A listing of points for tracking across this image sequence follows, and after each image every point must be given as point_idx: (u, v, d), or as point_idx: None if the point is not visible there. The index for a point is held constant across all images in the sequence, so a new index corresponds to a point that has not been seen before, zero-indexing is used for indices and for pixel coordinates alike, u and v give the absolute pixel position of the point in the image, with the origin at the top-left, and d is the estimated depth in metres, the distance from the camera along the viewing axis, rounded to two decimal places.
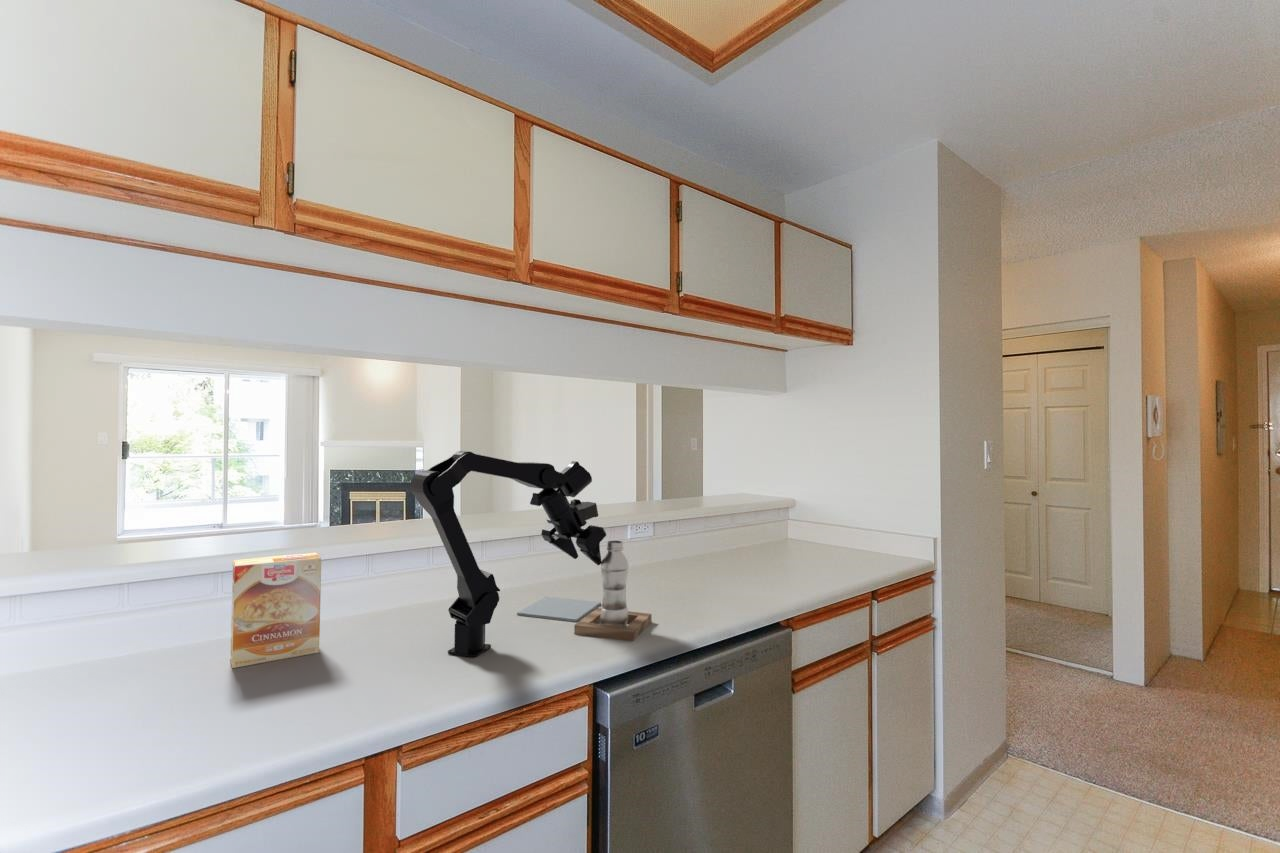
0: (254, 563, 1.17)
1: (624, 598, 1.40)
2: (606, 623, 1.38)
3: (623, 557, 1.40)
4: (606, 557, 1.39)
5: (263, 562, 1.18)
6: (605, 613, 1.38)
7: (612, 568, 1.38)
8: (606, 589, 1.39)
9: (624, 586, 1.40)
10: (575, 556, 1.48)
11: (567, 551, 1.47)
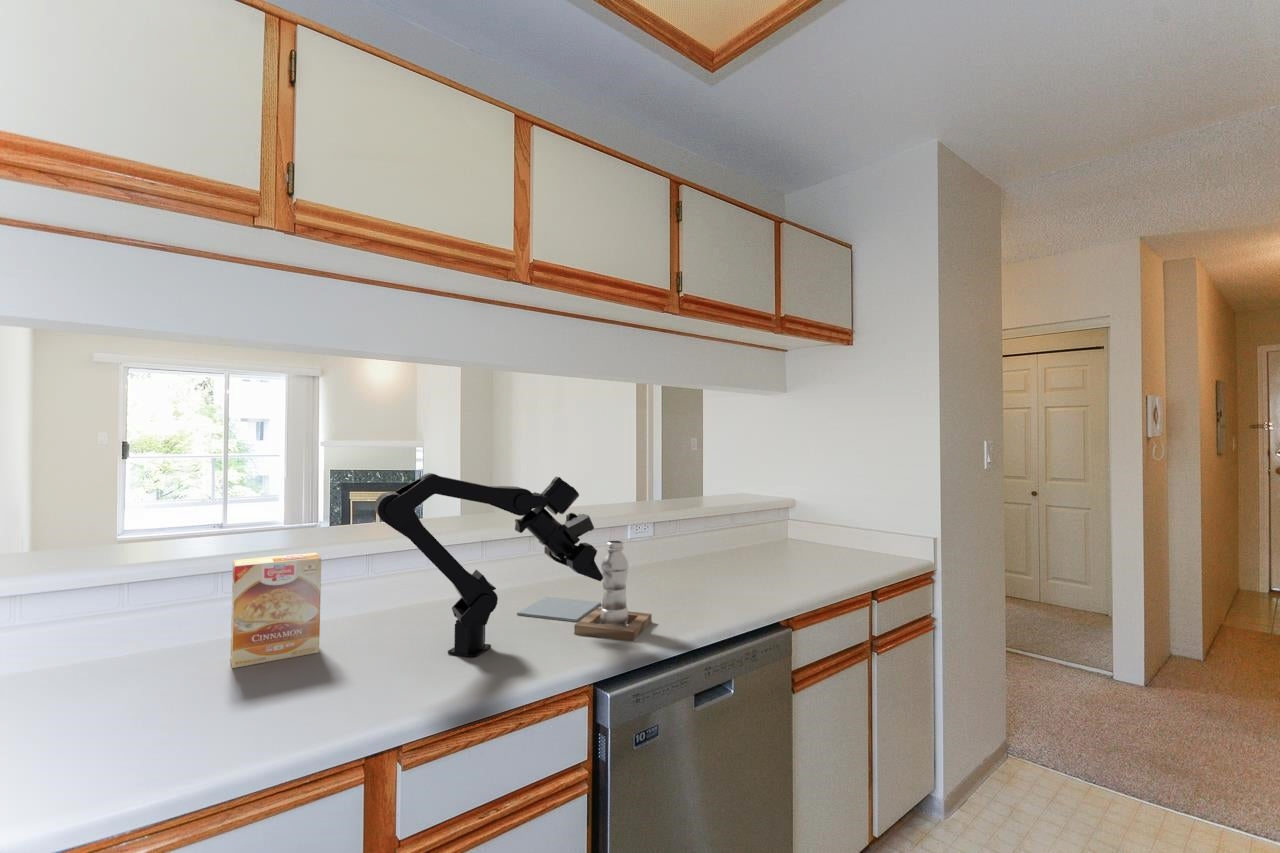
0: (254, 563, 1.17)
1: (624, 598, 1.40)
2: (606, 623, 1.38)
3: (623, 557, 1.40)
4: (606, 557, 1.39)
5: (263, 562, 1.18)
6: (605, 613, 1.38)
7: (612, 568, 1.38)
8: (606, 589, 1.39)
9: (624, 586, 1.40)
10: None
11: None
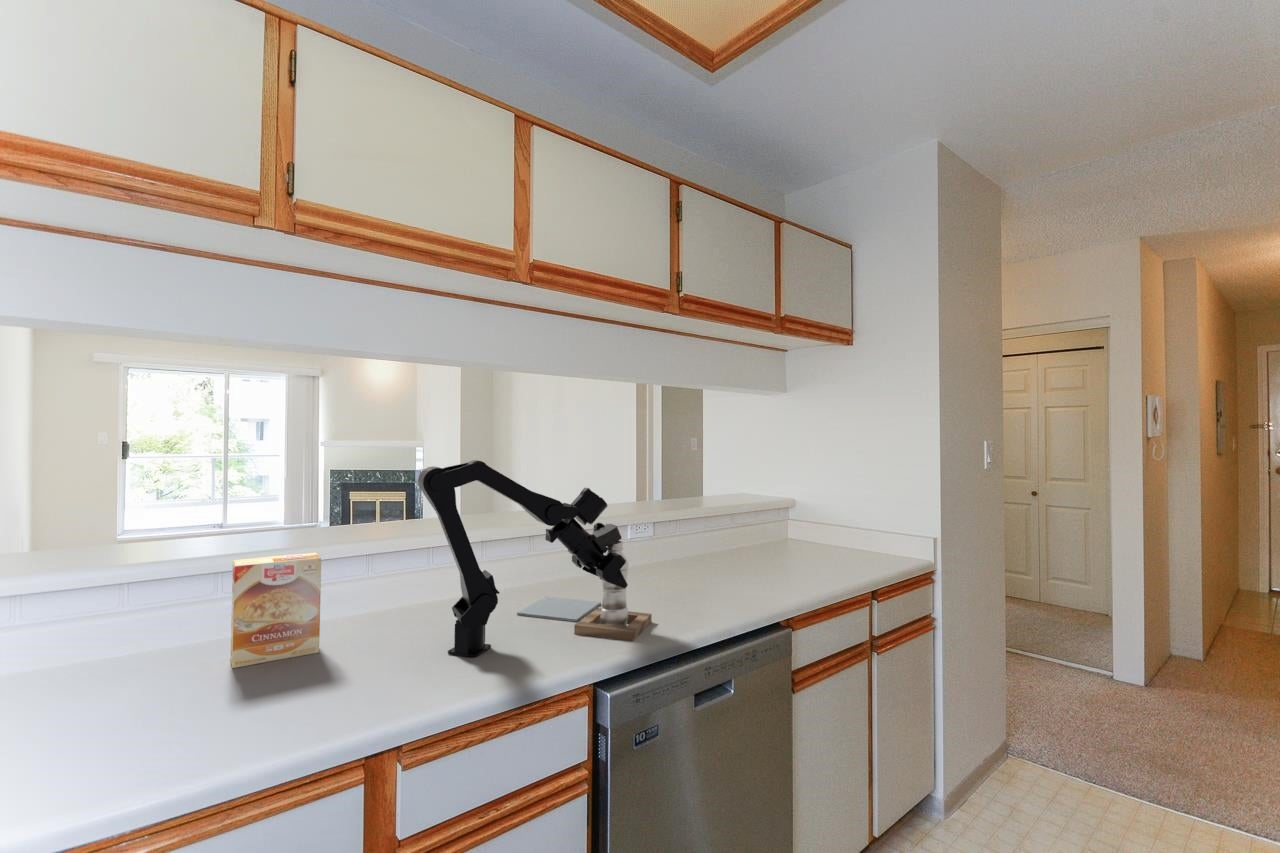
0: (254, 563, 1.17)
1: (624, 598, 1.40)
2: (606, 623, 1.38)
3: (623, 557, 1.40)
4: None
5: (263, 562, 1.18)
6: (605, 613, 1.38)
7: None
8: (606, 589, 1.39)
9: None
10: None
11: None
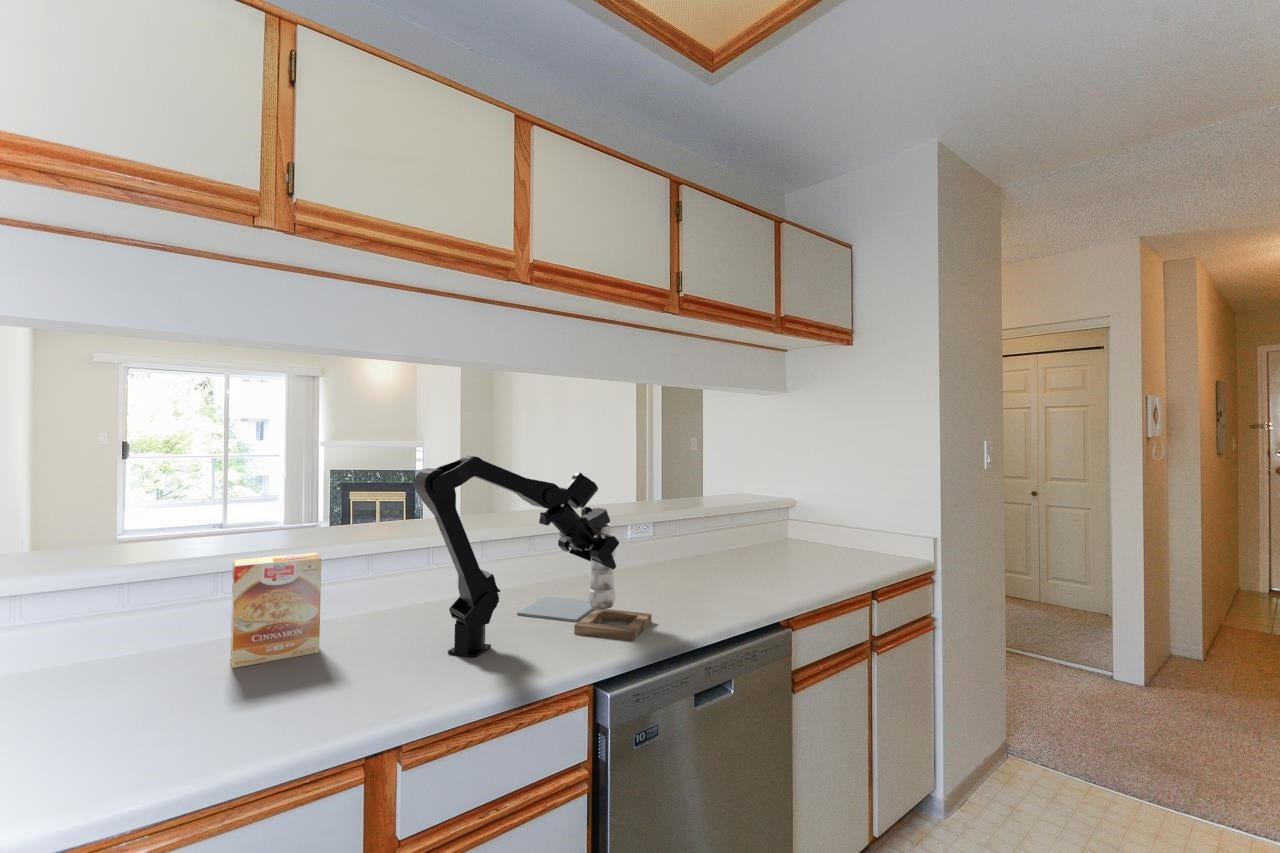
0: (254, 563, 1.17)
1: (612, 579, 1.45)
2: (595, 604, 1.43)
3: None
4: None
5: (263, 562, 1.18)
6: (594, 594, 1.43)
7: None
8: (595, 570, 1.43)
9: None
10: None
11: (589, 559, 1.47)
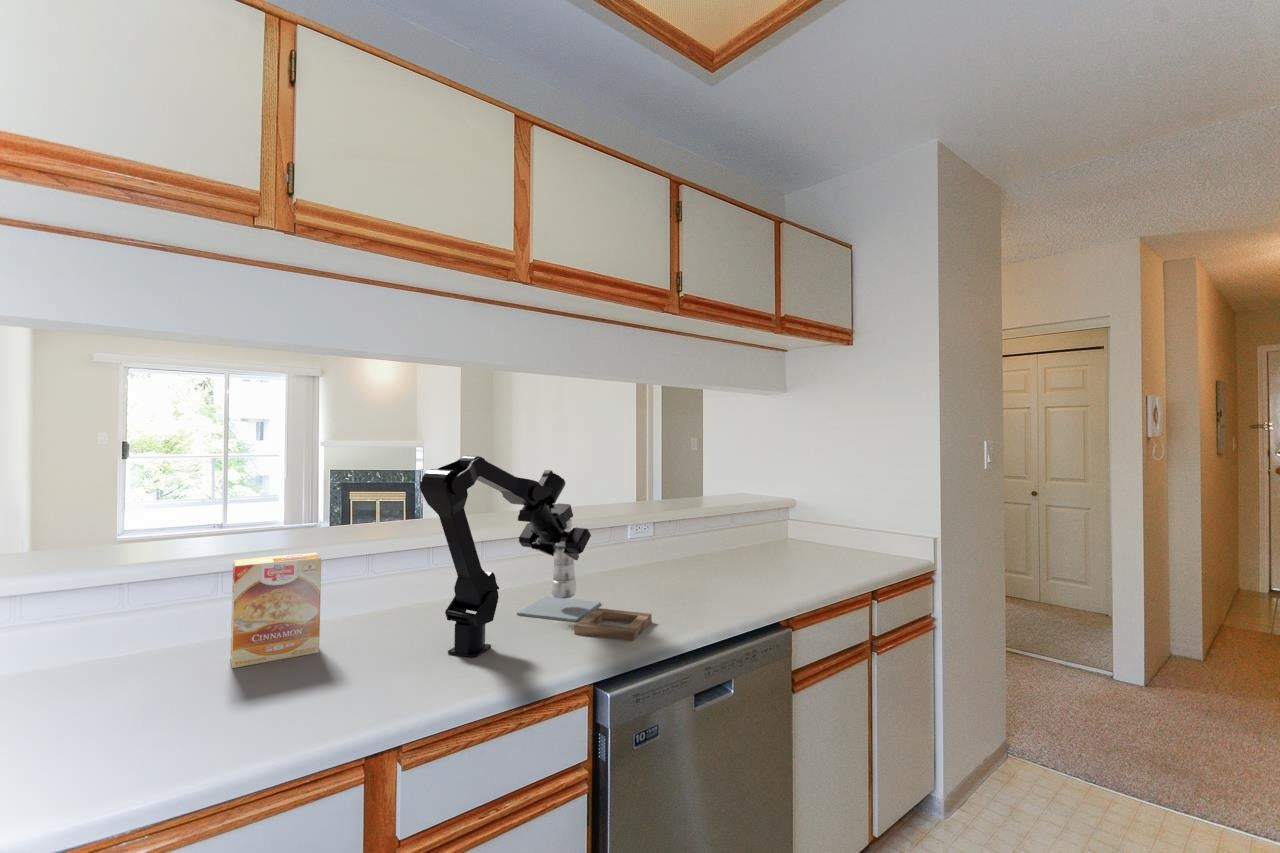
0: (254, 563, 1.17)
1: None
2: (562, 594, 1.51)
3: None
4: None
5: (263, 562, 1.18)
6: (561, 584, 1.51)
7: None
8: (561, 562, 1.52)
9: None
10: None
11: (550, 552, 1.54)
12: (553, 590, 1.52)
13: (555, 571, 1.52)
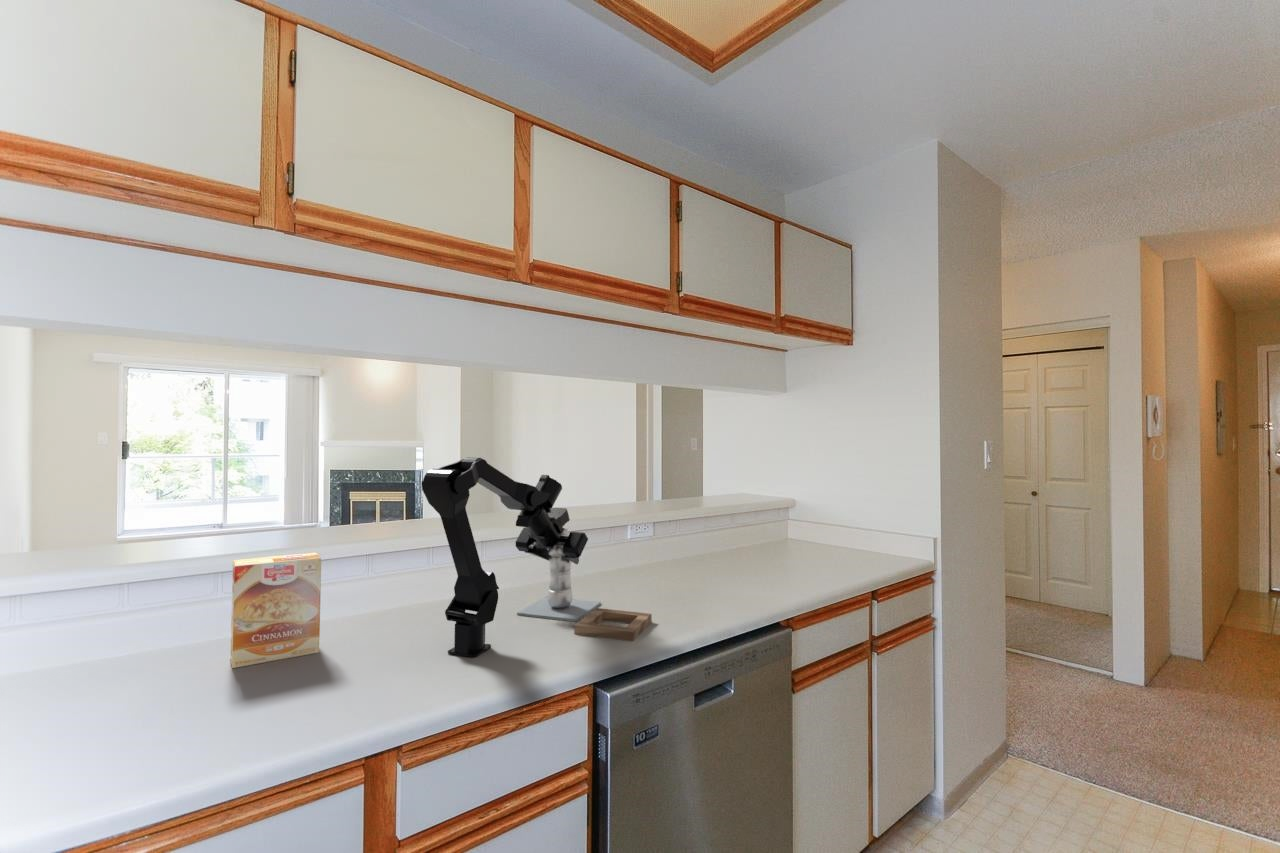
0: (254, 563, 1.17)
1: (570, 578, 1.55)
2: (558, 603, 1.51)
3: None
4: None
5: (263, 562, 1.18)
6: (557, 594, 1.52)
7: None
8: (557, 572, 1.52)
9: (570, 568, 1.55)
10: None
11: (543, 556, 1.55)
12: (550, 600, 1.52)
13: (552, 581, 1.53)
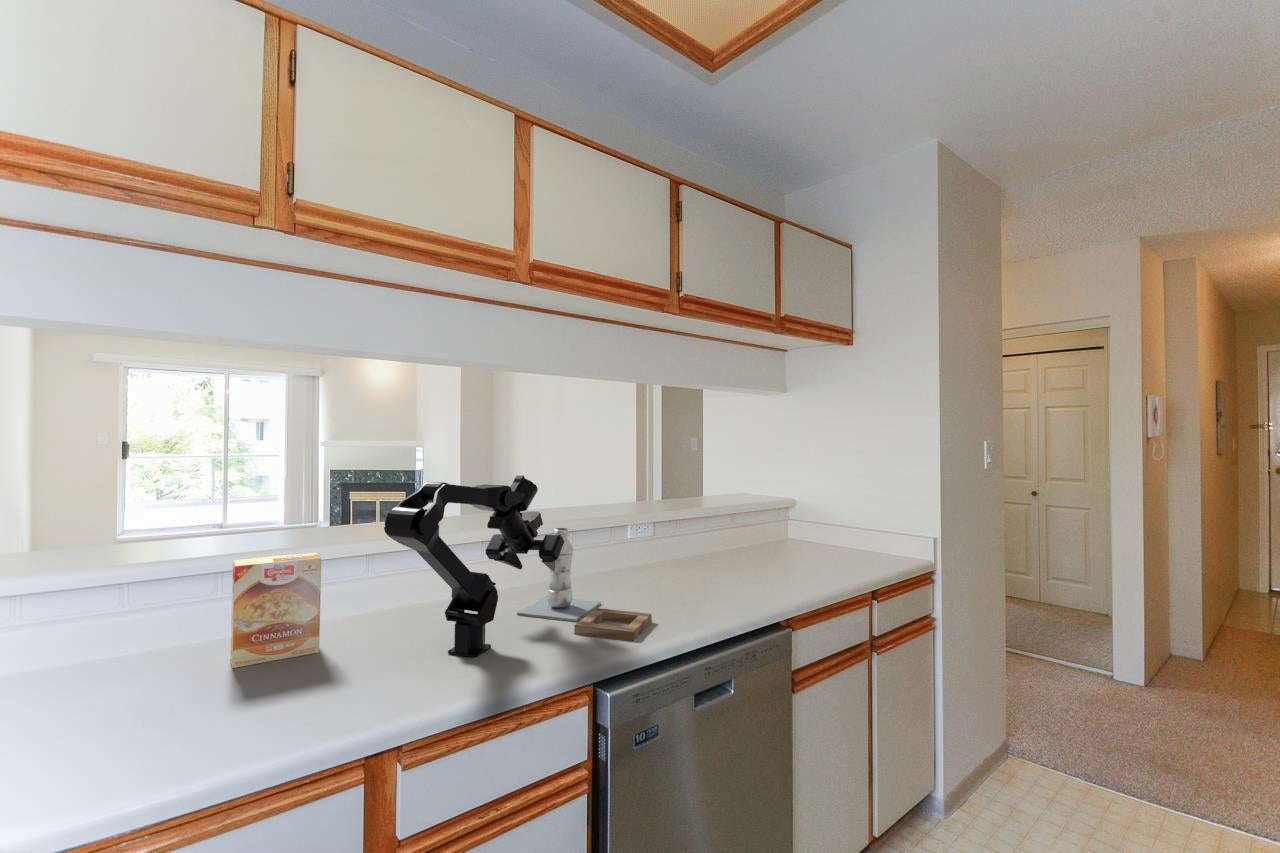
0: (254, 563, 1.17)
1: (570, 578, 1.55)
2: (558, 603, 1.51)
3: (569, 542, 1.55)
4: None
5: (263, 562, 1.18)
6: (557, 594, 1.52)
7: (565, 552, 1.52)
8: (557, 572, 1.52)
9: (570, 568, 1.55)
10: (520, 567, 1.49)
11: (514, 564, 1.46)
12: (550, 599, 1.52)
13: (552, 580, 1.53)
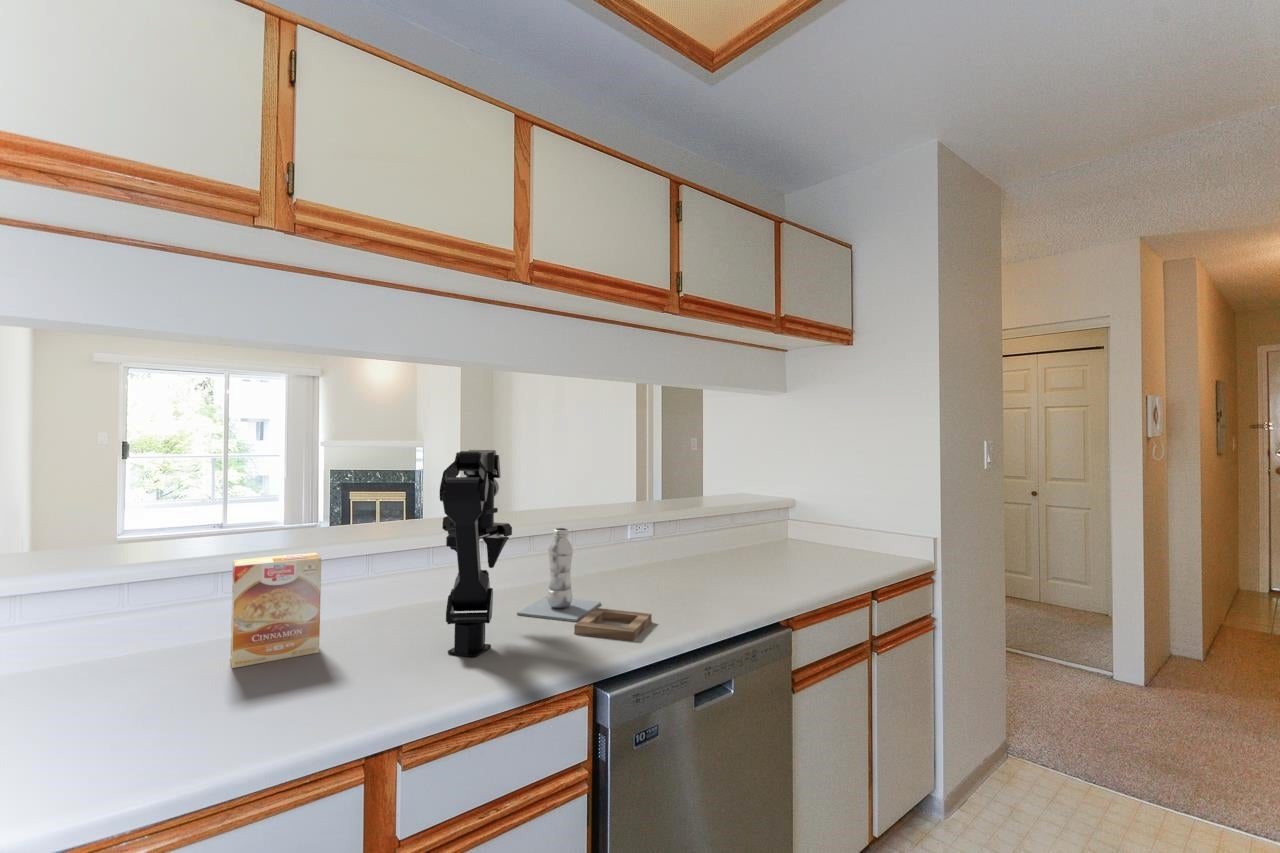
0: (254, 563, 1.17)
1: (570, 578, 1.55)
2: (558, 604, 1.51)
3: (569, 542, 1.55)
4: (557, 543, 1.52)
5: (263, 562, 1.18)
6: (557, 594, 1.51)
7: (565, 553, 1.52)
8: (557, 572, 1.52)
9: (570, 568, 1.55)
10: None
11: None
12: (550, 600, 1.52)
13: (552, 581, 1.53)
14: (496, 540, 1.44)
